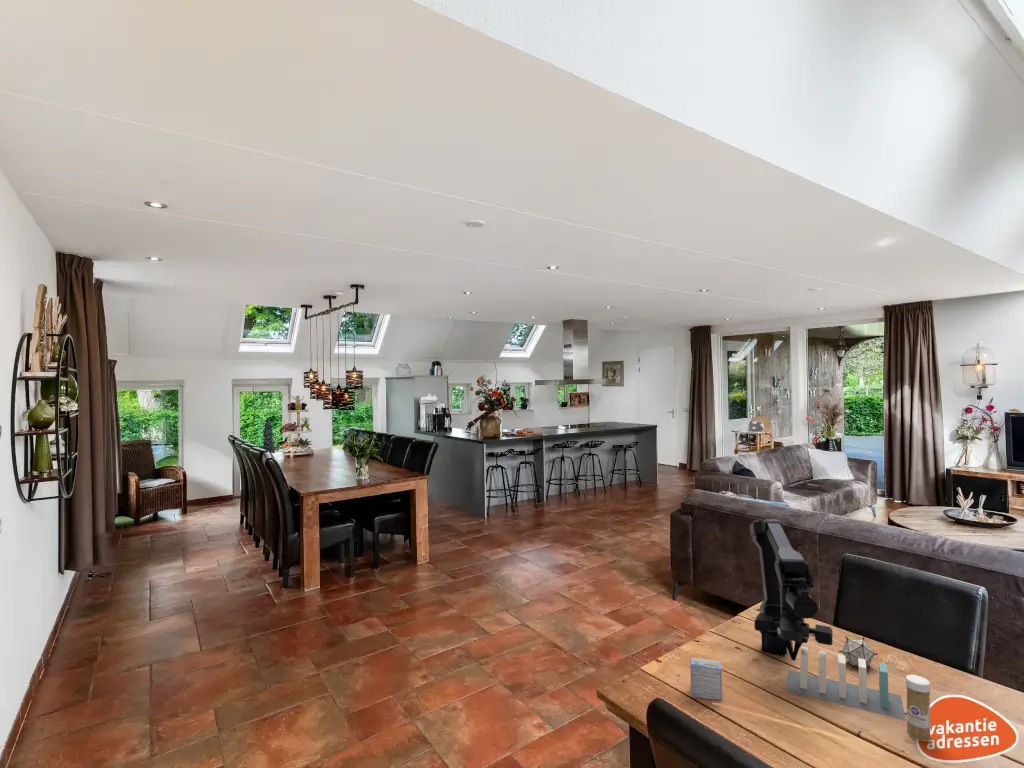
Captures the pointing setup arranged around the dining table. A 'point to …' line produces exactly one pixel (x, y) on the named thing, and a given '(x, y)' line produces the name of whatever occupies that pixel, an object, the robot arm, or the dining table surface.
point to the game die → (857, 651)
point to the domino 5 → (883, 685)
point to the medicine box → (706, 678)
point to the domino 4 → (862, 680)
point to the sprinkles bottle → (918, 707)
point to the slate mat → (851, 695)
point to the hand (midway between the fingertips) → (793, 660)
